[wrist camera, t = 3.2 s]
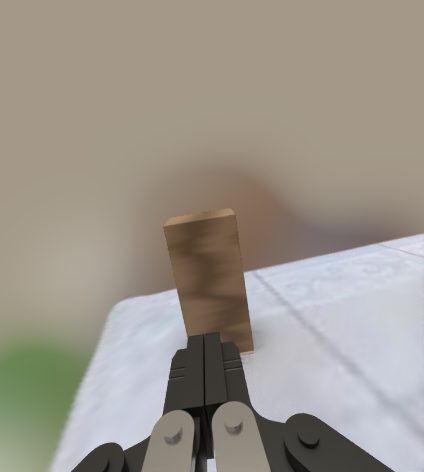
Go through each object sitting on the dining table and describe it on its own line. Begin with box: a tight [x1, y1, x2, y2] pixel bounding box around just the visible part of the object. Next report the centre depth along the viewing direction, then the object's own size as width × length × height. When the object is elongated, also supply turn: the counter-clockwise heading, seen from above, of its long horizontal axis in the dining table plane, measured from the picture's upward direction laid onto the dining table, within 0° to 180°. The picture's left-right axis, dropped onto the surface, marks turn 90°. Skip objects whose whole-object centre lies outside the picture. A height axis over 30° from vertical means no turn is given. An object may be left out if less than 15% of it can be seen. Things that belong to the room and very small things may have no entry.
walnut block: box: [163, 208, 254, 355], centre depth 26 cm, size 7×4×16 cm, turn 93°
